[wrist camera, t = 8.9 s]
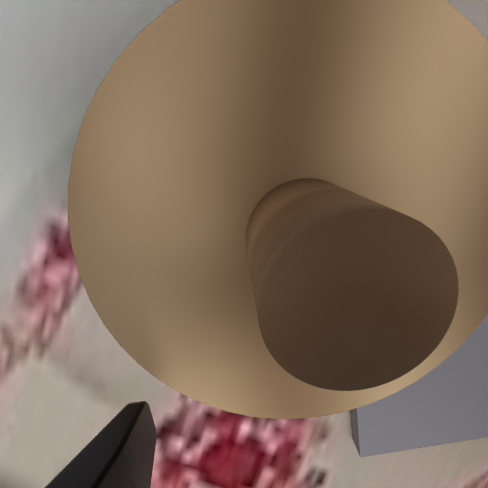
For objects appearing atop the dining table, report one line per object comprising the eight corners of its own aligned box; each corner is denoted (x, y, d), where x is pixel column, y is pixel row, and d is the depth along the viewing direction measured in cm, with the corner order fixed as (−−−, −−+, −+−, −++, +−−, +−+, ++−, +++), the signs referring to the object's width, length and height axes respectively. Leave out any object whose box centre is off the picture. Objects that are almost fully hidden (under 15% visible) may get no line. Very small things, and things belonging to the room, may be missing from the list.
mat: (529, 265, 21) (551, 274, 19) (512, 413, 24) (529, 430, 23) (341, 295, 21) (349, 307, 19) (352, 438, 25) (360, 457, 23)
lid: (510, -53, 7) (955, -358, 3) (481, 359, 11) (664, 518, 6) (26, 31, 7) (-283, -133, 3) (147, 413, 11) (89, 607, 6)
